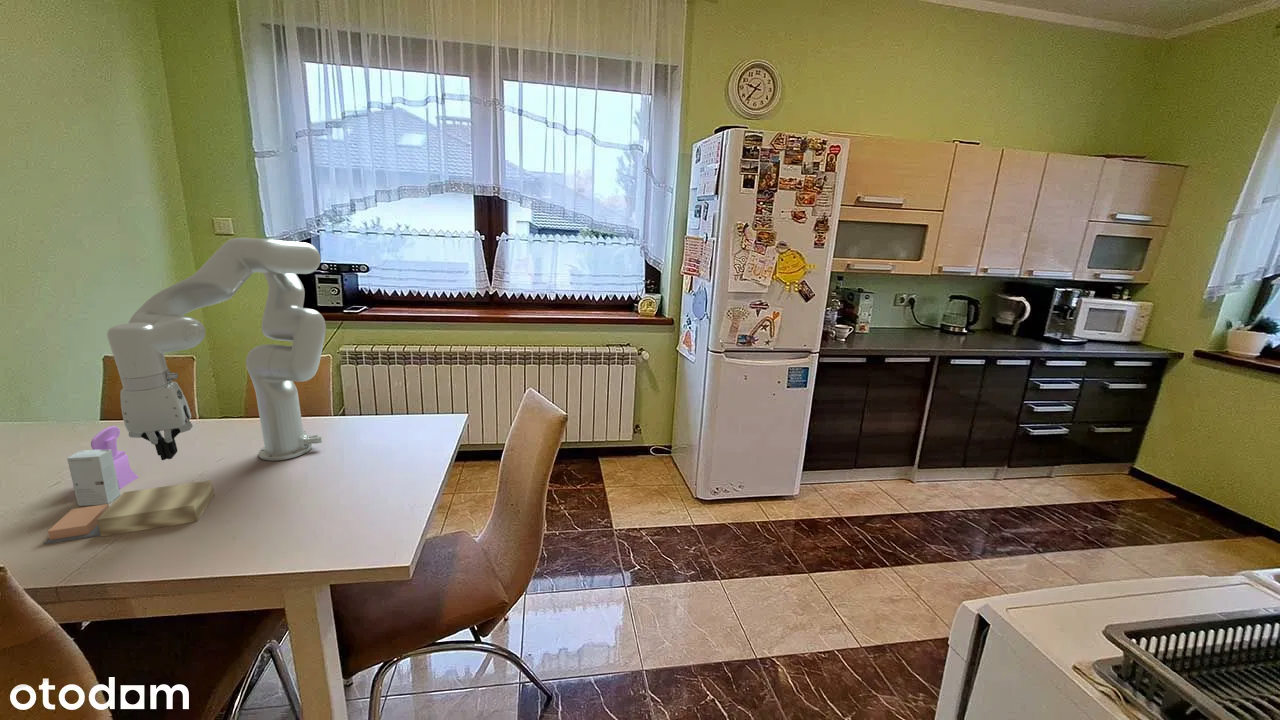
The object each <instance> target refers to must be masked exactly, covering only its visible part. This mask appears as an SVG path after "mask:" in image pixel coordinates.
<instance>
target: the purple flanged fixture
mask: <svg viewBox="0 0 1280 720" xmlns="http://www.w3.org/2000/svg"><path fill="white" fill-rule="evenodd" d="M120 434H121V431H120V428H119V427H118V426H115V425H111V426H108V427H106V428H104V429H102V430H101V431H99V432H98V433H97V434H96V435H94V437H93V438H92V439H91V441H90V447H91V450H111V451H112V456H113V461H114V466H115V471H116V476H117V481H118V486H119V490H121V489H123V488H124V487H126V486H128V485H129V484H131V483H132V482H134V481H135V480H137V479H138V478H139V476H138V475H137V474H136V473H135V472H134V471H133V470H132V468H131V466H130V461H129V460H130V459H129V456H128V455H127V454H126V451H125V450H118V445H117V439H118V438H119V437H120Z"/></svg>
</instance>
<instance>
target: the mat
mask: <svg viewBox="0 0 1280 720" xmlns="http://www.w3.org/2000/svg"><path fill="white" fill-rule="evenodd" d="M99 536H101V533H100V530H99V526H98V525H97V526H96V527H95V528H94V529H93V530H92V531H91V532H90V533H89V534H84V535H78V536H71V537H65V538H59V539H52V540H50V538H49V537H48V538H47V539H46V540H45V541H44V542H43V545H48V544H49V545H51V544H56V543H61V542H68V541H73V540H74V541H75V540H82V539H87V538H93V537H94V538H95V537H99Z"/></svg>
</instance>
